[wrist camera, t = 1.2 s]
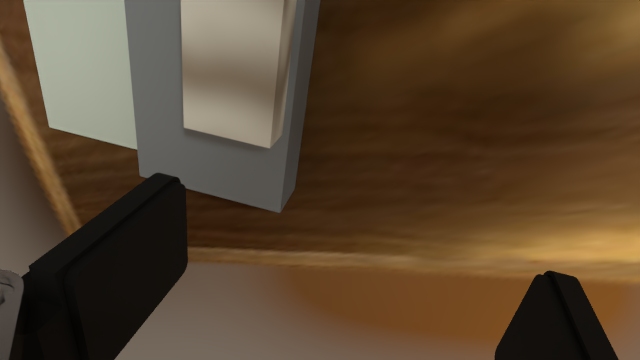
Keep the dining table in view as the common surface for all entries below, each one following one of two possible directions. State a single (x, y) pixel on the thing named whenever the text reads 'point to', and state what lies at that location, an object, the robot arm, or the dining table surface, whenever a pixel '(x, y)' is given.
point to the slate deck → (202, 148)
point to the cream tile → (236, 67)
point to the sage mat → (84, 67)
